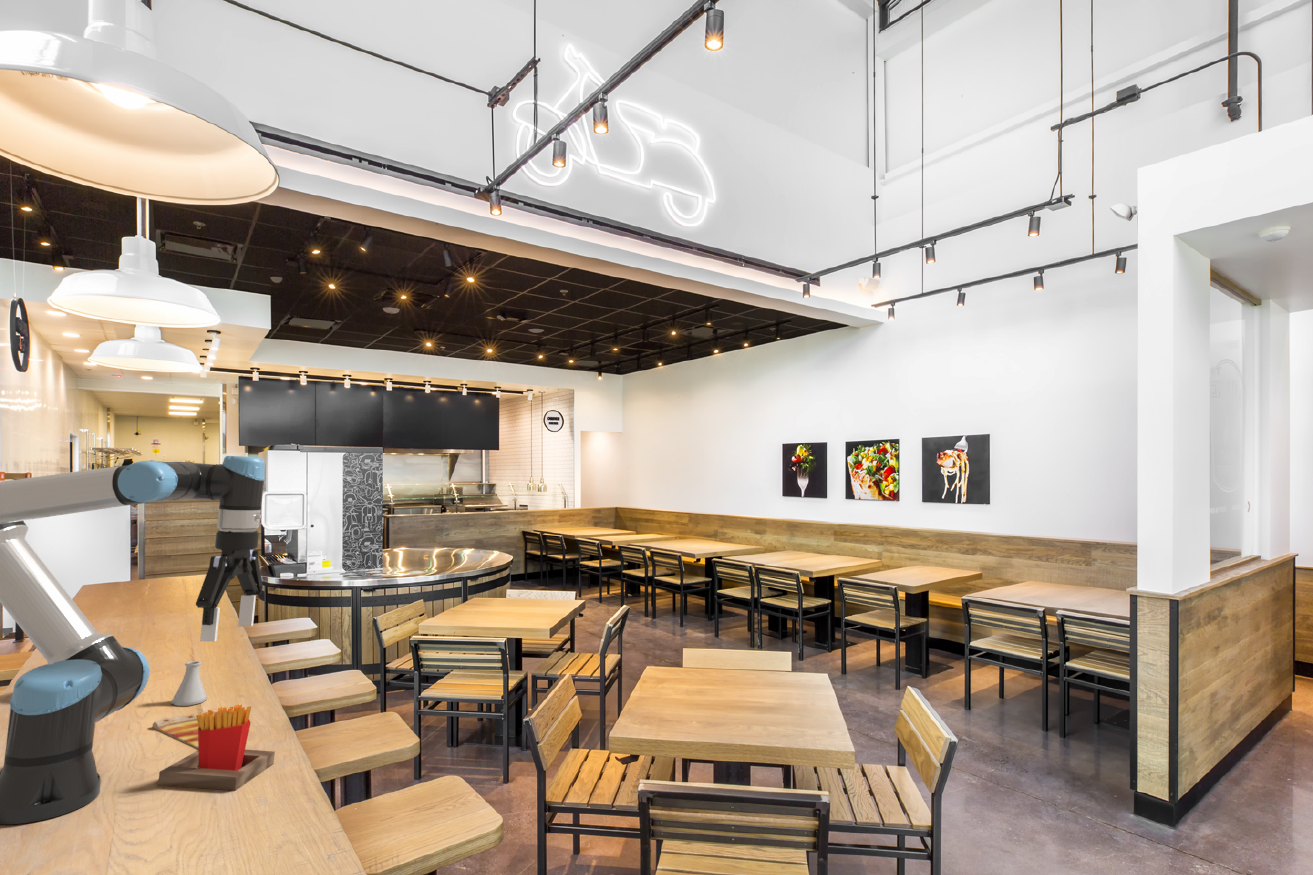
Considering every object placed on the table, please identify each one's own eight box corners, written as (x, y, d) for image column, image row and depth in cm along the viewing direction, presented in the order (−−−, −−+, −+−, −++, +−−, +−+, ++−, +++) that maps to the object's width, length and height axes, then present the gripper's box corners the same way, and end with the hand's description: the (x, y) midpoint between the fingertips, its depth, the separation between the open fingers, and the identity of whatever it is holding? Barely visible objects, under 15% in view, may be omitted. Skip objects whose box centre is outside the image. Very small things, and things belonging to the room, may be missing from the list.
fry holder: (235, 790, 124) (236, 776, 124) (158, 785, 125) (159, 771, 125) (273, 763, 136) (274, 751, 136) (203, 758, 137) (204, 746, 137)
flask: (188, 708, 164) (192, 667, 165) (164, 704, 166) (168, 664, 166) (213, 699, 171) (217, 660, 172) (190, 696, 173) (194, 657, 173)
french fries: (243, 764, 135) (249, 700, 136) (246, 772, 132) (253, 706, 133) (189, 775, 129) (196, 708, 130) (191, 783, 126) (198, 714, 127)
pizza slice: (116, 757, 136) (117, 748, 136) (165, 719, 157) (165, 711, 158) (202, 753, 140) (203, 744, 140) (238, 716, 162) (239, 708, 162)
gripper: (222, 535, 125) (211, 648, 123) (285, 526, 150) (276, 620, 148) (181, 533, 124) (169, 647, 123) (251, 525, 149) (241, 619, 147)
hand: (227, 633), depth 135 cm, fingers open, 13 cm apart
